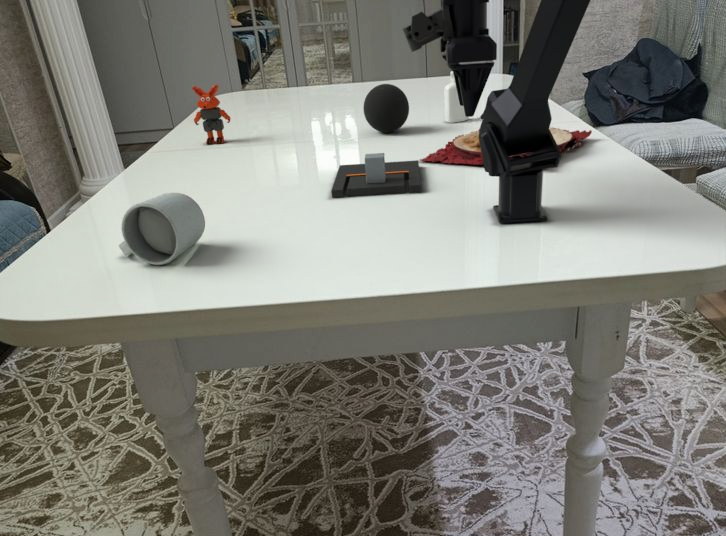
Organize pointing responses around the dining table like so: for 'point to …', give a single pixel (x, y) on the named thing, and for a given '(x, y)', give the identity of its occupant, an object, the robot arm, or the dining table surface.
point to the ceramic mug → (162, 228)
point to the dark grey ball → (386, 108)
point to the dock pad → (400, 167)
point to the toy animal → (210, 114)
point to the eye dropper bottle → (453, 103)
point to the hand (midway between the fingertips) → (466, 110)
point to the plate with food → (470, 151)
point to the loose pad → (376, 188)
